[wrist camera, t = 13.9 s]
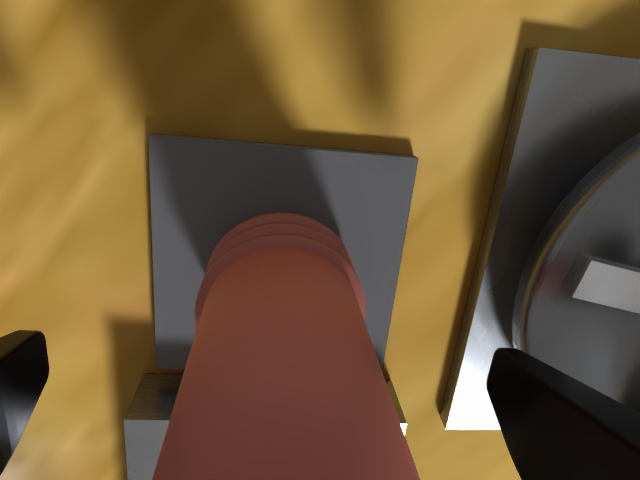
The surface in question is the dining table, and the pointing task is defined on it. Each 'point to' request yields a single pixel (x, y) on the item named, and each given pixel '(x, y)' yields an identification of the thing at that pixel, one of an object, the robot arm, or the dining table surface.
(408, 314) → the dining table surface
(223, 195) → the mat
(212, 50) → the dining table surface
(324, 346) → the pink rounded cylinder
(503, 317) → the wheel base
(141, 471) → the collar
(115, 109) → the dining table surface
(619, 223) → the handwheel
